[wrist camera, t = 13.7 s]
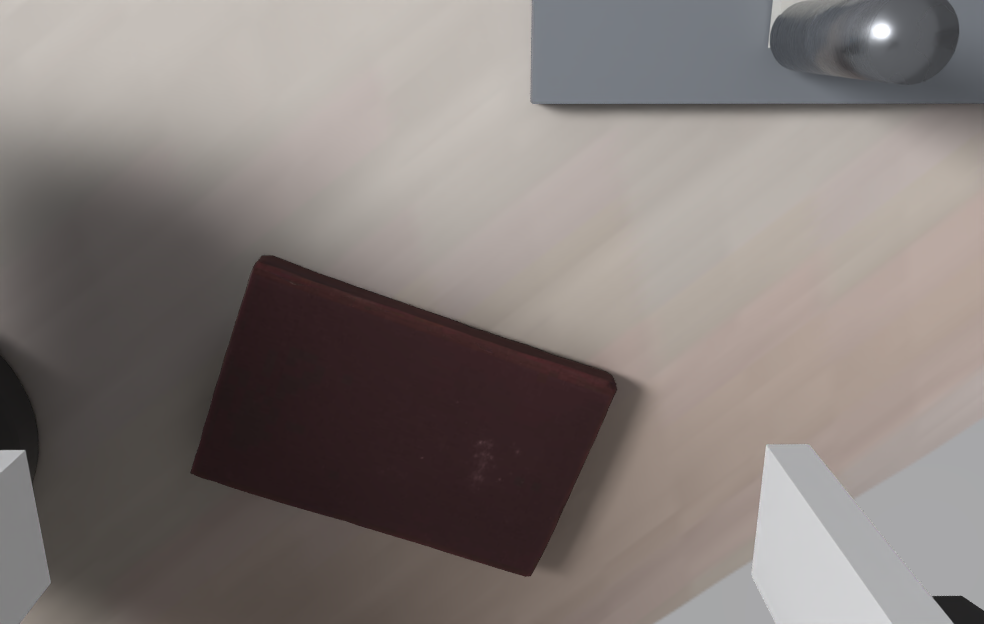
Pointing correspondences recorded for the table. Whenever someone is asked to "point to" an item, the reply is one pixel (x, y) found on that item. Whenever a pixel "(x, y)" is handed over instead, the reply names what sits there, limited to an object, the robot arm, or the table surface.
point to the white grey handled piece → (865, 38)
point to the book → (398, 418)
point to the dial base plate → (711, 57)
